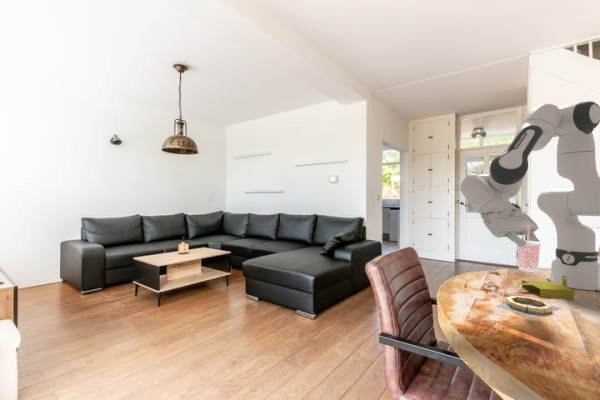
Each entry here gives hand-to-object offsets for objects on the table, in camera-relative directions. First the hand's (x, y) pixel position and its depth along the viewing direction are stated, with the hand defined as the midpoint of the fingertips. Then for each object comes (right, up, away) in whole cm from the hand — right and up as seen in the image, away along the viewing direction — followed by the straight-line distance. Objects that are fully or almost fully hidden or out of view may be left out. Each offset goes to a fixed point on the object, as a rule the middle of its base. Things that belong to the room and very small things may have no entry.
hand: (530, 244), depth 88 cm
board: (0, -21, +1) cm, 21 cm away
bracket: (+16, -21, +15) cm, 31 cm away
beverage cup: (0, -8, +1) cm, 8 cm away
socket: (0, -20, +1) cm, 20 cm away
